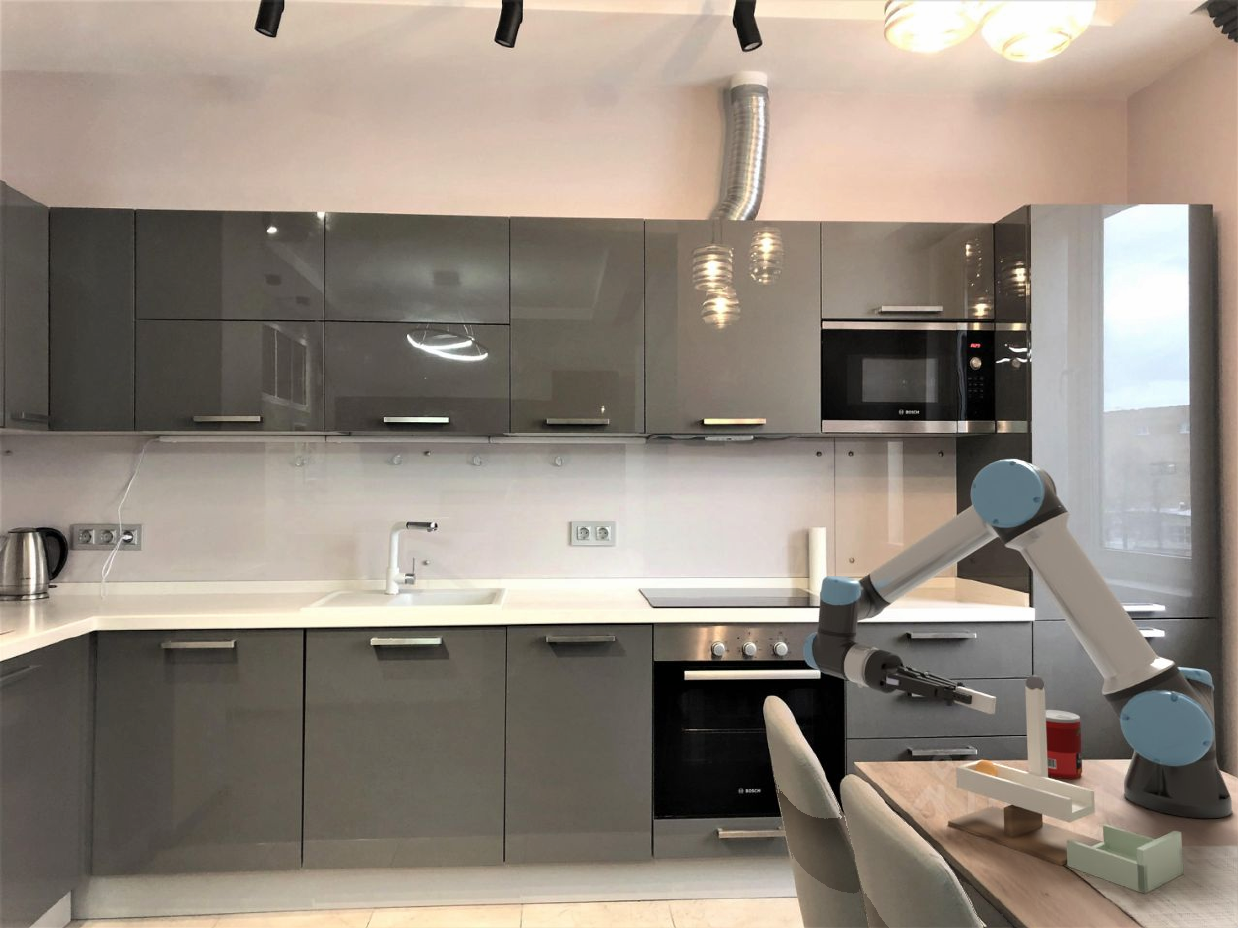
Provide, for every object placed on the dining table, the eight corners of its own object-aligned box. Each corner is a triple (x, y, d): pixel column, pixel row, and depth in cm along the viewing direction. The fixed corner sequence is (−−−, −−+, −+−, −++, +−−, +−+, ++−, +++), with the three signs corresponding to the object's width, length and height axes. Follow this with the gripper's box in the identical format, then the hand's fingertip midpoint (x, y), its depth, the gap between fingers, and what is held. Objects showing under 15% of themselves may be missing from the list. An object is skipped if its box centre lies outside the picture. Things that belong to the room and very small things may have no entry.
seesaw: (956, 787, 130) (953, 671, 131) (990, 776, 135) (986, 665, 136) (1069, 822, 115) (1064, 691, 116) (1102, 809, 120) (1097, 684, 121)
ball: (994, 777, 131) (993, 757, 131) (999, 784, 128) (999, 763, 128) (973, 776, 131) (972, 756, 132) (978, 783, 128) (977, 762, 128)
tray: (1067, 865, 113) (1065, 825, 114) (1106, 848, 119) (1105, 810, 119) (1145, 893, 105) (1143, 850, 105) (1183, 873, 111) (1181, 832, 111)
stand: (948, 824, 128) (947, 793, 129) (992, 809, 135) (991, 780, 135) (1061, 865, 113) (1060, 830, 114) (1105, 846, 120) (1103, 813, 120)
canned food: (1088, 780, 149) (1086, 720, 150) (1042, 777, 151) (1039, 718, 151) (1074, 767, 157) (1072, 710, 157) (1029, 765, 158) (1027, 708, 159)
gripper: (893, 686, 157) (1011, 725, 138) (850, 689, 149) (968, 731, 130) (898, 648, 157) (1016, 681, 138) (855, 649, 150) (973, 684, 130)
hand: (993, 705), depth 134 cm, fingers closed
